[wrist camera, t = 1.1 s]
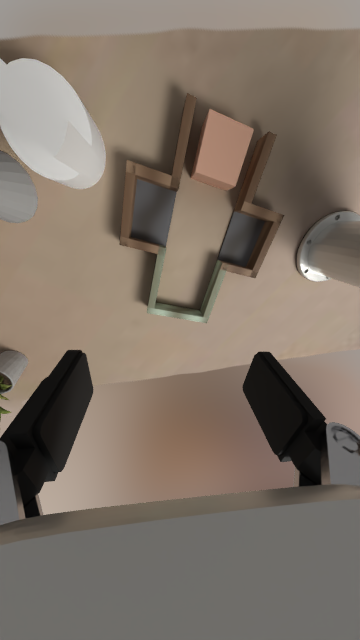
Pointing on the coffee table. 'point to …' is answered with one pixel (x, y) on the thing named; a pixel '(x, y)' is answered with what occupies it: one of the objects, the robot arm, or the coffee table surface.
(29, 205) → the lava lamp
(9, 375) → the house plant
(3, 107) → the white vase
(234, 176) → the terracotta block
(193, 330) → the coffee table surface
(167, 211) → the box
